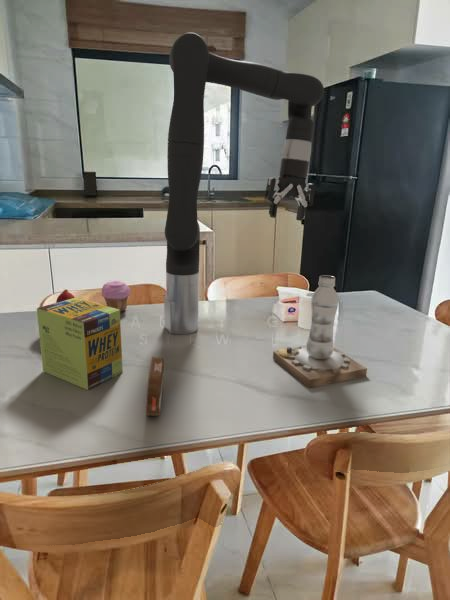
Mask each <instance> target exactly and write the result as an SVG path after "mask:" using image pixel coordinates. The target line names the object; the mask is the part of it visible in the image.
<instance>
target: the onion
mask: <svg viewBox="0 0 450 600" xmlns="http://www.w3.org/2000/svg"><path fill="white" fill-rule="evenodd" d="M72 298H76V297H75V295H74V294H73V293H71V292H69V289H68V288H64V289H63V291H62V292H61V293H60V294H59V295H58V296H57V298H56V301H55V303H58V302H61V301H65V300H69V299H72Z"/></svg>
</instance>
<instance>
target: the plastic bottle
mask: <svg viewBox="0 0 450 600" xmlns="http://www.w3.org/2000/svg"><path fill="white" fill-rule="evenodd" d="M318 278H319V279H318V287H317V288H316V289H315V290H314V292H313V293H312V295H311V298H310V301H311V302H310V304H311V307H310V308H311V318H310V319H311V321H310V322H311V323H310V330H309V333H308V334H309V336H308V338H307V341H306V345H305V346H306V347H307V353H308V354H309V356H310V357H312V358H315V359H328V358H329V357H330V356H331V355H332V353H333V350H334V348H335V347H334V344H335V342H334V326H335V325H334V324H335V319H336V315H337V310H338V307H339V302H340V299H339V296H338V293H337V291H336V289H335V288H334V287H336V277H335V276H333V275H329V274H328V275H327V274H326V275H325V274H324V275H320V276H319V277H318Z"/></svg>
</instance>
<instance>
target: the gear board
mask: <svg viewBox="0 0 450 600" xmlns="http://www.w3.org/2000/svg"><path fill="white" fill-rule="evenodd" d="M272 352H273V353H272V354H273V355H272V359H273V360H274V361H275V362H277V364H279V365H280V366H281V367H283V368H284V369H285V370H286V371H287V372H289V373H290V374H291V375H292V376H294V377H295V378H296V379H298V380H299V381H300V382H301V383H303V384H304V386H306V387H307V388H308V389H311V388H315V387H321V386H326V385H330V384H334V383H339V382H345V381H348V380H349V381H350V380H353V379H358V378H363V377H367V373H368V368H367V367H365V366H364V365H362V364H360V363H359V362H357V360H355V359H353V358H351V357H350V356H349V355H347V354H345V353H344V352H343V351H340V350H338V349H336V348H335V347H334V350H333V353H332V355H331V356H330V357H329V358H328V359H315V358H312V357H310V356H309V354H308V353H307V347H306V345H300V346H298V347H291V346H290V347H289V346H288V347H282V348H280V349H279V350H273V351H272Z"/></svg>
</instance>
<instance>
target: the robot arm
mask: <svg viewBox="0 0 450 600" xmlns="http://www.w3.org/2000/svg"><path fill="white" fill-rule="evenodd" d="M169 53H170V54H169V57H168V60H169V61H168V62H169V66H170V69H171V70H172V72H173V103H172V108H171V113H170V119H169V126H168V132H167V133H168V134H167V158H166V159H167V183H168V206H167V214H166V220H165V221H166V222H165V227H164V238H165V240H166V259H165V271H166V272H165V281H166V282H165V283H166V284H165V285H166V286H165V289H166V291H165V292H166V293H165V295H164V297H163V299H164V304H163V307H164V312H163V313H164V319H163V320H164V328H165V329H166V331H167V332H168V333H169V334H172V335H173V334H178V335H187V334H193V333H196V332H197V331H198V330H199V301H200V300H199V299H200V298H199V297H200V295H199V293H200V291H199V289H200V288H199V285H200V283H199V282H200V247H201V245H200V243H201V242H200V241H201V231H200V230H201V228H200V224H199V221H198V194H199V190H200V189H199V188H200V183H201V179H202V174H203V173H202V172H203V164H204V150H205V109H204V107H205V105H204V104H205V92H206V91H205V90H206V83H210V84H216V85H221V86H225V87H229V88H230V87H231V88H233V89H237V90H240V91H242V92H247V93H249V94H253V95H257V96H260V97H263V98H267V99H271V100H274V101H275V100H276V101H277V100H278V101H279V100H286V101H287V118H288V121H287V122H288V123H287V129H286V135H285V140H284V145H283V148H282V153H281V160H280V161H281V162H280V167H279V178H278V179H277V178H275V177H269V178H268V179H267V184H266V186H265V192H264V200H265V201H268V202H269V211H268V215H269V217H270V218H273V219H276V217H277V211H278V203H279V201H281V200H282V199H283V198H284V197H287V198H294V199H295V200H296V202H297V204H298V207H297V211H296V212H297V214H296V220H297V221H303V219H305V213H306V210H307V209H306V208H307V207H311V206H313V205H314V197H315V192H316V191H315V190H316V184H315V183H307V182H306V179H307V177H308V172H309V165H310V159H311V153H312V143H313V142H312V141H313V137H314V130H315V123H314V120H313V119H312V109H313V107H315V106H316V105H317V104H319V103H320V102H321V100H322V99H323V97H324V93H325V87H324V85H323V82H322V81H321V80H320V79H318V78H317V77H315V76H313V75H310V74H306V73H299V72H294V71H293V72H291V71H286V70H285V71H284V70H282V69H279V68H276V67H272V66H269V65H266V64H263V63H259V62H252V61H245V60H236V59H231V58H227V57H223V56H219V55H217V54H214V53H212V52H210V51H209V47H208V45H207V43H206V41H205V40H204V38H203V37H201V35H199V34H198V33H195V32H186V33H183V34H181V35H180V36H178V37H177V39H176V40H174V43H173V44H172V47H171V49H170V52H169ZM275 187H278V189H277V190H276V191H275ZM304 190H305V194H304ZM274 192H275V193H274Z"/></svg>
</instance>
